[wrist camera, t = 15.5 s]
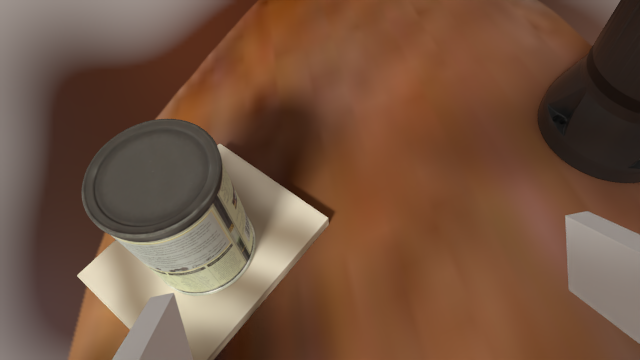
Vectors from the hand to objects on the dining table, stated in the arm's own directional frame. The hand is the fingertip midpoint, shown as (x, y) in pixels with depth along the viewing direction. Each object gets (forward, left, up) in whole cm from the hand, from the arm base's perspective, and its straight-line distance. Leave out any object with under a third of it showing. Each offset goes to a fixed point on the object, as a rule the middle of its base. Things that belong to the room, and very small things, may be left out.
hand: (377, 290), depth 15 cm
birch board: (-1, -20, -28) cm, 34 cm away
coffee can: (-1, -20, -26) cm, 33 cm away
